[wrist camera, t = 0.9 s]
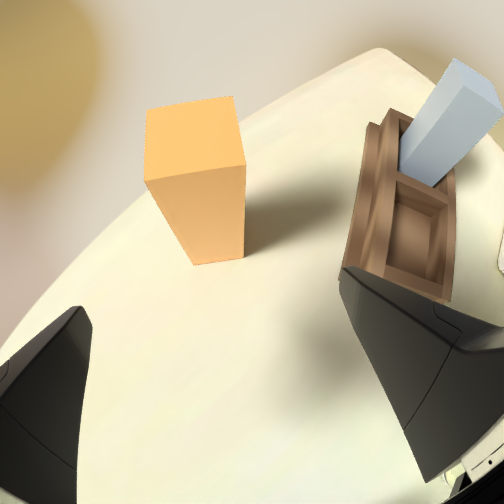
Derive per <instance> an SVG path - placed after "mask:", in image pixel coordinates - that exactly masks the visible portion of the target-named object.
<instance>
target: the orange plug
mask: <svg viewBox="0 0 504 504" xmlns="http://www.w3.org/2000/svg"><path fill="white" fill-rule="evenodd" d="M144 182H145V184H146V185H147V187H148V189H149V191H150V193H151V194H152V196H153V198H154V200H155V201H156V203H157V205H158V207H159V208H160V210H161V212H162V214H163V215H164V217H165V219H166V220H167V222H168V224H169V226H170V227H171V229H172V231H173V232H174V234H175V236H176V237H177V239H178V241H179V242H180V244H181V246H182V247H183V249H184V251H185V252H186V254H187V255H188V257H189V259H190V260H191V262H192V264H193V265H200V264H206V263H213V262H220V261H226V260H233V259H239V258H244V220H245V185H246V161H245V156H244V151H243V146H242V141H241V136H240V131H239V126H238V121H237V116H236V111H235V106H234V101H233V96H229V97H221V98H213V99H206V100H199V101H193V102H186V103H181V104H175V105H170V106H165V107H159V108H155V109H150V110H147V116H146V132H145V157H144Z"/></svg>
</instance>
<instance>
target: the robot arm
mask: <svg viewBox="0 0 504 504" xmlns="http://www.w3.org/2000/svg"><path fill="white" fill-rule="evenodd" d="M339 291H340V295H341V297H342V300H343V303H344V305H345V308H346V310H347V313H348V315H349V318H350V321H351V323H352V326H353V328H354V330H355V332H356V334H357V336H358V338H359V340H360V342H361V344H362V346H363V348H364V350H365V352H366V354H367V356H368V358H369V360H370V362H371V364H372V366H373V368H374V370H375V372H376V374H377V376H378V378H379V380H380V382H381V384H382V386H383V388H384V390H385V393H386V395H387V397H388V399H389V401H390V403H391V405H392V407H393V410H394V412H395V414H396V416H397V418H398V420H399V423H400V425H401V427H402V429H403V430H404V434H405V436H406V439H407V441H408V443H409V445H410V448H411V450H412V452H413V455H414V457H415V459H416V462H417V464H418V467H419V469H420V471H421V474H422V476H423V479H424V481H425V483H428V482H430V481H432V480H433V479H435V478H437V477H439V476H440V475H442V474H444V473H445V472H447V471H449V470H450V469H452V468H454V467H455V466H457V465H458V464H460V463H462V465H463V467H464V469H465V470H466V471H465V472H464V473H462V474H461V475H460V476H458V477H457V478H456V480H455V483H454V486H453V489H452V492H451V494H450V497H449V499H447V500H446V501H444V502H442V503H441V504H504V327H499V326H496V325H493V324H490V323H488V322H485V321H482V320H480V319H477V318H474V317H472V316H469V315H466V314H464V313H461V312H459V311H456V310H453V309H451V308H449V307H447V306H444V305H442V304H440V303H438V302H435V301H432V300H431V299H429V298H426V297H424V296H422V295H420V294H418V293H415V292H413V291H411V290H409V289H406V288H404V287H402V286H400V285H397V284H395V283H393V282H390V281H388V280H386V279H384V278H381V277H379V276H377V275H374V274H372V273H370V272H367V271H365V270H363V269H360V268H358V267H356V266H353V265H351V266H345V267H342V268H341V271H340V283H339ZM91 339H92V324H91V321H90V319H89V317H88V315H87V313H86V311H85V309H84V308H83V307H82V306H73V307H71V308H69V309H68V310H67V311H66V312H64V313H63V314H62V315H61V316H59V317H58V318H57V319H56V320H54V321H53V322H52V323H51V324H50V325H48V326H47V327H46V328H45V329H43V330H42V331H41V332H40V333H39V334H37V335H36V336H35V337H34V338H33V339H32V340H30V341H29V342H28V343H27V344H26V345H24V346H23V347H22V348H21V349H20V350H19V351H18V352H16V353H15V354H14V355H13V356H12V357H11V358H10V360H7V361H6V362H5V363H4V364H3V365H2V366H1V367H0V504H77V458H78V444H79V432H80V423H81V414H82V406H83V399H84V392H85V386H86V380H87V374H88V368H89V360H90V349H91Z"/></svg>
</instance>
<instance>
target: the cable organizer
mask: <svg viewBox="0 0 504 504" xmlns="http://www.w3.org/2000/svg"><path fill="white" fill-rule="evenodd" d="M498 267H499V269H500V270H501V271H502V272H503V274H504V234H503V239H502V244H501V249H500V253H499V258H498Z"/></svg>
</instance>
